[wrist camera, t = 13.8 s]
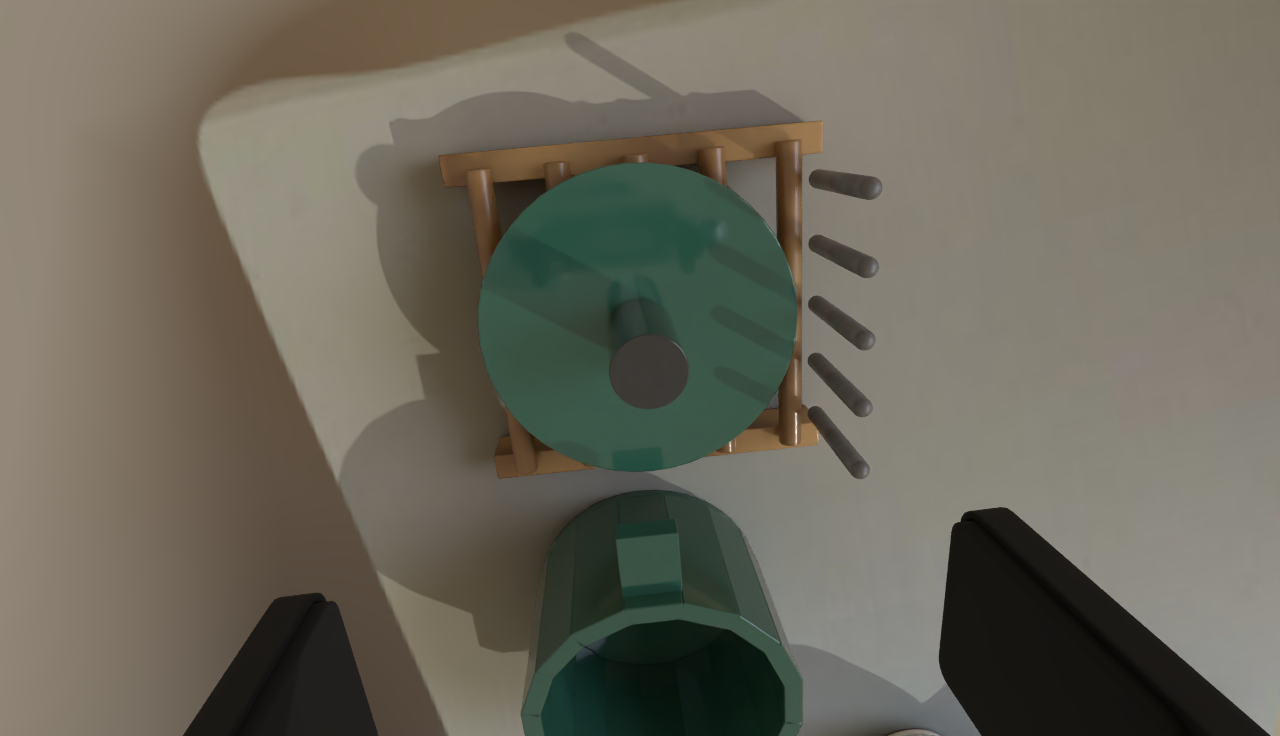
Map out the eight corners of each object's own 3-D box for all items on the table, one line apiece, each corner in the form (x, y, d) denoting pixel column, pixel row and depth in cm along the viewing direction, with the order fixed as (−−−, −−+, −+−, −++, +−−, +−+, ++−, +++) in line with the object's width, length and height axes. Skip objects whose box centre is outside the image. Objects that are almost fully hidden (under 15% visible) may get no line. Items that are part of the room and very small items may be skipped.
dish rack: (503, 458, 31) (472, 566, 23) (449, 154, 26) (385, 160, 18) (805, 426, 32) (874, 522, 24) (807, 121, 27) (894, 114, 19)
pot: (562, 714, 37) (551, 873, 29) (517, 455, 31) (490, 564, 23) (758, 691, 37) (802, 842, 29) (751, 430, 31) (804, 529, 23)
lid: (508, 473, 28) (486, 557, 22) (456, 177, 24) (412, 189, 18) (790, 443, 28) (838, 518, 23) (789, 146, 24) (847, 148, 18)
